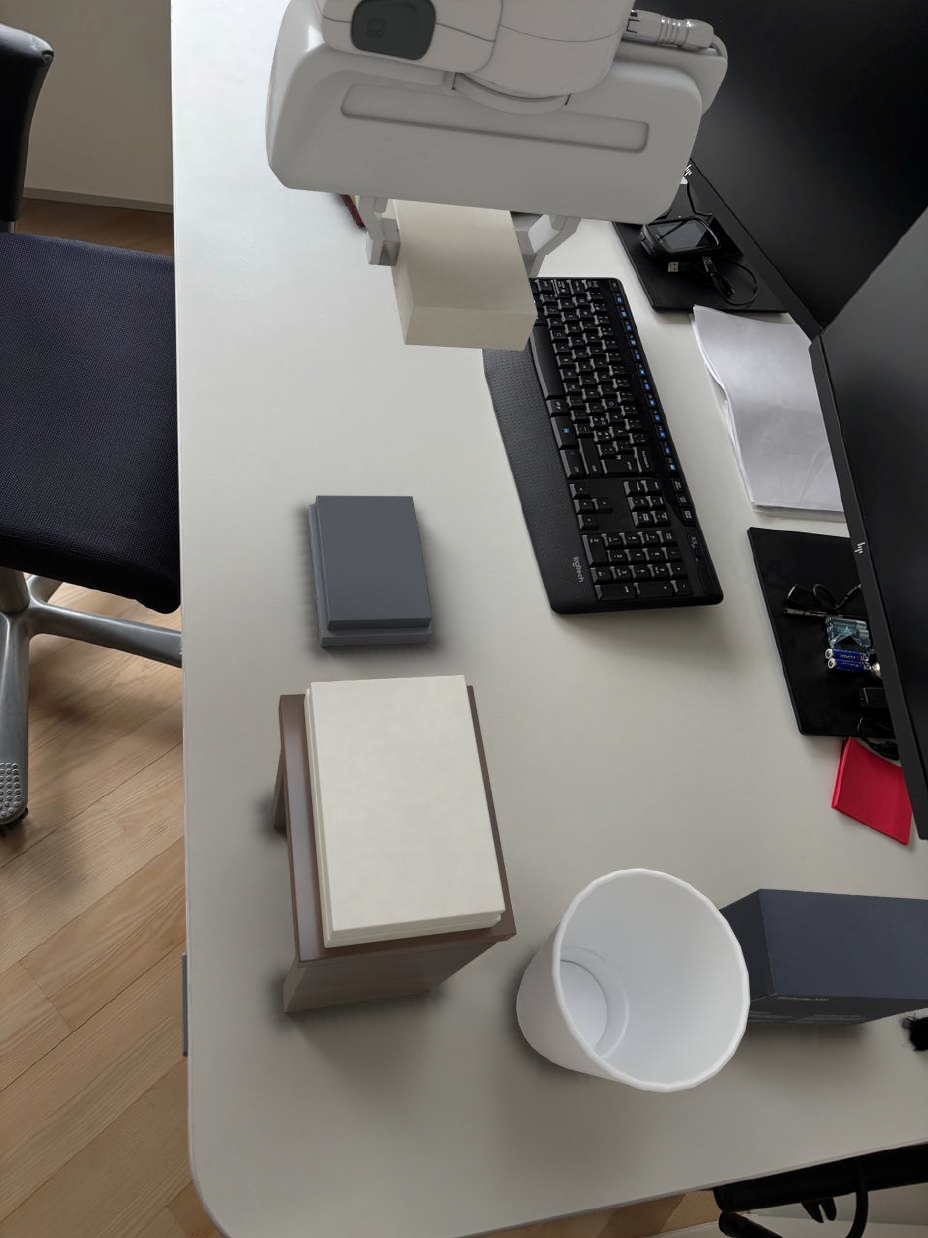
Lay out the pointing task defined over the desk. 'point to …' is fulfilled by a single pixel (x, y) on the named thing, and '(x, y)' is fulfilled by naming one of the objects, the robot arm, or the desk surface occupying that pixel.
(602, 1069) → the cup
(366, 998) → the walnut shelf
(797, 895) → the small box
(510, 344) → the ivory book
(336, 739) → the white books
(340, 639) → the grey books
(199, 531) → the desk surface
